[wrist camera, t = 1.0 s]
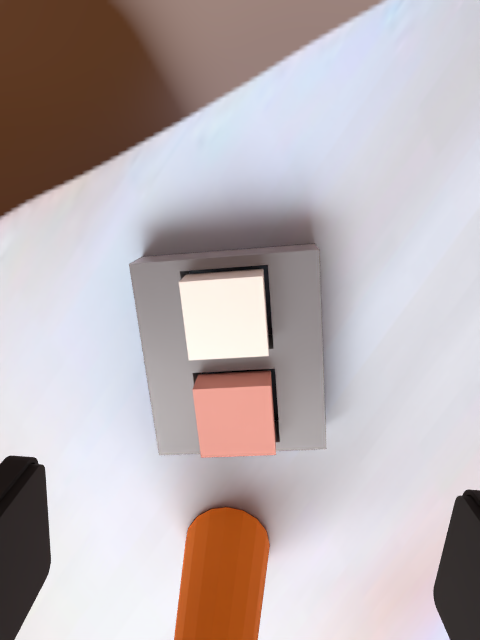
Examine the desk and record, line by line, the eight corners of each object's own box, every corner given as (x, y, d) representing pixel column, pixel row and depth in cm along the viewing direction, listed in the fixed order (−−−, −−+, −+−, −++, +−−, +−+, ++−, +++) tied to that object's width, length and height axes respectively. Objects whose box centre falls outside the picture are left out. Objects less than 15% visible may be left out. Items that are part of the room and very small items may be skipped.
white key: (263, 268, 29) (262, 276, 26) (268, 342, 30) (268, 355, 28) (186, 274, 29) (178, 282, 27) (195, 347, 30) (188, 360, 28)
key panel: (314, 243, 30) (319, 249, 28) (321, 427, 34) (326, 449, 32) (141, 256, 32) (129, 264, 29) (168, 433, 36) (159, 455, 33)
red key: (270, 370, 31) (270, 385, 28) (275, 435, 32) (275, 454, 30) (198, 374, 31) (192, 389, 29) (206, 438, 32) (201, 457, 30)
